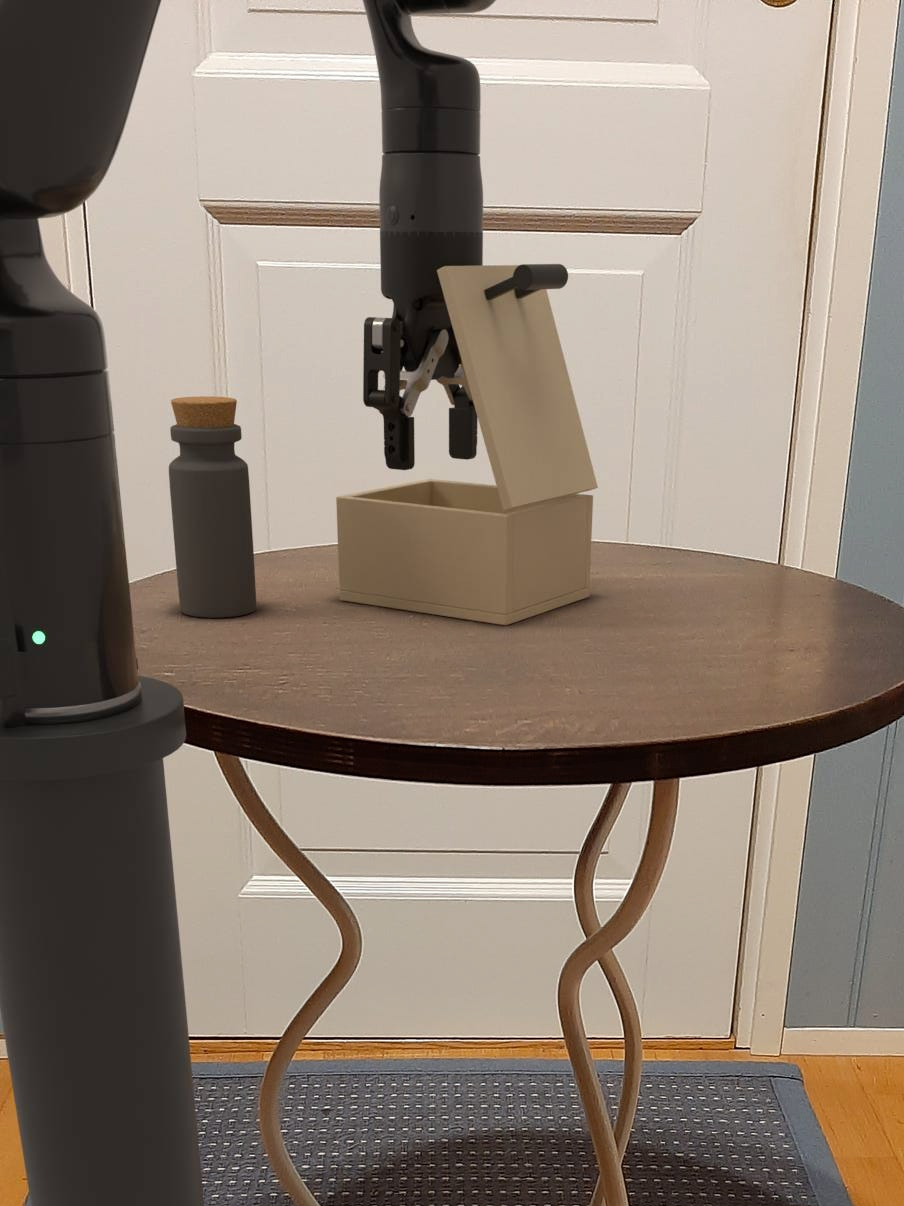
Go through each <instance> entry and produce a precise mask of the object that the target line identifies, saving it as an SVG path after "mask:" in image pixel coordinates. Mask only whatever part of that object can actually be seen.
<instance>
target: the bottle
mask: <svg viewBox="0 0 904 1206" xmlns="http://www.w3.org/2000/svg"><path fill="white" fill-rule="evenodd" d="M237 402H238V401H237V399H236V398H233V397H227V396H183V397H176V398H172V399H171V400H170V403H171V407H172V411H173V414H174V418H175V422H176V424H173V425H172V426H170V439H171V441H172V442H175V443H178V445H179V455H178V456H177V457H175V458H173V460H172V461H171V462H170V463H169V464H168V481H169V495H170V507H171V518H172V519H171V520H172V531H173V543H174V555H175V567H176V569H175V570H176V578H177V589H178V601H179V609H180V612H181V613H182V614H185V615H186V616H191V617H197V618H207V619H217V618H218V619H219V618H221V619H222V618H234V617H241V616H245V615H249V614H251V613H253V612H255V611H256V609H257V592H256V591H257V589H256V573H255V572H256V571H255V569H256V568H255V553H254V536H253V520H252V519H253V518H252V501H251V488H250V486H251V485H250V475H249V473H250V472H249V464H248V463H247V462H246V460H244V459H243V458H242V457H240V456H238V455H236V451H235V450H236V449H235V443H237V442H239V441H241V440H242V438H243V437H242V436H243V435H242V427H241V425H238V424H236V423H235V419H236V412H237V411H236V410H237Z"/></svg>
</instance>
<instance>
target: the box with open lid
mask: <svg viewBox="0 0 904 1206" xmlns="http://www.w3.org/2000/svg"><path fill="white" fill-rule="evenodd" d="M335 500H336V529H337V531H336V532H337V533H336V534H337V552H338V553H337V556H338V557H337V558H338V559H337V560H338V561H337V563H338V585H339V586H338V587H339V601H342V602H348V603H349V602H350V603H355V604H362V605H369V606H376V607H383V608H387V609H395V610H402V611H408V612H415V613H422V614H426V615H427V614H428V615H435V616H441V617H446V618H447V617H448V618H453V619H461V620H466V621H474V622H480V623H486V624H493V625H499V626H505V627H506V626H508V625H511V624H515V623H517V622H520V621H522V620H525V619H529V618H532V617H535V616H537V615H540V614H543V613H546V612H549V611H552V610H555V609H558V608H561V607H564V606H567V605H569V604H573V603H575V602H579V601H581V600H584V599H587V598H589V597H590V585H591V583H590V581H591V560H592V559H591V558H592V557H591V556H592V535H593V534H592V533H593V512H594V495H593V494H585V493H577V494H573V495H569V496H564V497H560V498H556V499H552V500H548V501H543V502H539V503H535V504H531V505H527V506H522V507H518V508H514V509H510V510H505V511H504V510H503V507H502V503H501V500H500V496H499V493H498V489H497V485H496V484H495V485H494V484H485V483H476V482H465V481H456V480H455V481H454V480H447V479H435V478H426V479H422V480H417V481H412V482H411V481H410V482H407V483H401V484H396V485H390V486H386V487H381V488H376V489H371V490H365V491H361V492H355V493H351V494H344V495H340V496H335Z"/></svg>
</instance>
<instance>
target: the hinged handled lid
mask: <svg viewBox="0 0 904 1206" xmlns="http://www.w3.org/2000/svg"><path fill="white" fill-rule="evenodd" d="M437 273H438V276H439V280H440V284H441V287H442V291H443V294H444V298H445V302H446V305H447V309H448V312H449V316H450V320H451V323H452V327H453V330H454V334H455V338H456V341H457V345H458V348H459V352H460V356H461V359H462V363H463V366H464V370H465V374H466V377H467V381H468V384H469V388H470V392H471V395H472V399H473V403H474V406H475V410H476V413H477V422H478V425H479V428H480V432H481V434H482V438H483V442H484V446H485V450H486V453H487V456H488V460H489V463H490V468H491V471H492V474H493V478H494V481H495V485H496V486H497V489H498V493H499V496H500V500H501V503H502V507H503V510H504V511H505V510H510V509H514V508H518V507H522V506H527V505H531V504H535V503H539V502H543V501H548V500H552V499H556V498H560V497H564V496H569V495H573V494H582V493H585V492H589V491H592V490H596V489H598V482H597V479H596V475H595V471H594V468H593V463H592V459H591V455H590V451H589V449H588V444H587V440H586V437H585V432H584V429H583V425H582V422H581V416H580V414H579V413H580V412H579V409H578V405H577V402H576V398H575V394H574V391H573V386H572V383H571V379H570V375H569V371H568V367H567V364H566V360H565V355H564V352H563V348H562V345H561V340H560V337H559V333H558V328H557V325H556V322H555V318H554V314H553V309H552V305H551V301H550V298H549V295H548V290H560V289H562V288H564V287H565V286H566V285H567V283H568V280H569V274H568V273H569V272H568V270H567V268H566V266H564V265H563V264H561V263H535V264H534V263H530V264H529V263H528V264H527V263H525V264H524V263H521V264H511V265H510V264H508V265H507V264H505V265H504V264H501V265H499V264H497V265H483V266H444V267H442V268H440V269H438V270H437Z"/></svg>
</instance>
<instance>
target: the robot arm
mask: <svg viewBox="0 0 904 1206" xmlns="http://www.w3.org/2000/svg"><path fill="white" fill-rule="evenodd" d="M162 1H163V0H0V726H1V727H3V728H13V727H18V726H25V725H54V724H67V723H77V722H84V721H91V720H96V719H101V718H106V717H109V716H113V715H116V714H119V713H122V712H125V711H127V710H129V709H131V708H133V707H135V706H136V705H137V704H139V703H140V701H141V699H142V693H141V683H140V679H139V678H138V675H139V672H138V670H139V665H138V658H137V651H136V643H135V642H136V641H135V640H136V639H135V632H134V621H133V620H134V619H133V610H132V601H131V590H130V589H131V588H130V580H129V579H130V578H129V569H128V560H127V559H128V558H127V549H126V540H125V530H124V519H123V518H124V517H123V507H122V498H121V497H122V496H121V489H120V488H121V487H120V477H119V476H120V475H119V467H118V458H117V457H118V456H117V446H116V436H115V433H114V432H115V425H114V414H113V404H112V393H111V383H110V374H109V371H108V369H107V368H109V365H108V354H107V346H106V345H107V344H106V336H105V335H106V334H105V329H104V325H103V322H102V319H101V317H100V315H99V314H98V312H97V311H96V309H95V308H93V307H92V306H91V305H90V304H89V303H86V301H83V299H81V298H79V297H78V296H77V295H76V294H74V293H73V292H72V291H71V290H70V289H68V287H67V286H65V285H64V284H63V283H62V281H61V280H60V279H59V278H58V276H57V275H56V272H55V271H54V269H53V268H52V267H51V265H50V263H49V261H48V258H47V256H46V252H45V248H44V242H43V238H42V232H41V227H40V221H39V219H41V220H42V219H51V218H55V217H59V216H62V215H65V214H67V213H70V212H72V211H74V210H75V209H77V208H79V207H80V206H82V205H83V204H84V203H85V202H86V201H88V199H89V198H90V197H92V196H93V194H94V193H95V192H97V190H98V188H99V187H100V185H101V184H102V182H103V181H104V179H105V177H106V176H107V174H108V172H109V170H110V167H111V164H112V163H113V161H114V158H115V156H116V153H117V151H118V149H119V146H120V143H121V140H122V138H123V134H124V131H125V128H126V124H127V121H128V118H129V115H130V111H131V107H132V104H133V101H134V97H135V93H136V91H137V87H138V83H139V79H140V76H141V72H142V69H143V65H144V62H145V58H146V54H147V52H148V47H149V44H150V41H151V39H152V38H151V37H152V34H153V30H154V27H155V23H156V21H157V17H158V14H159V11H160V7H161V3H162ZM496 2H497V0H362V4H363V7H364V10H365V15H366V19H367V23H368V28H369V31H370V34H371V40H372V45H373V50H374V55H375V61H376V68H377V75H378V80H379V86H380V107H381V109H380V110H381V112H380V113H381V114H380V115H381V153H382V155H381V168H380V169H381V171H380V179H379V192H378V193H379V194H378V195H379V198H378V201H379V202H378V203H379V204H378V205H379V246H380V247H379V253H380V254H379V255H380V260H379V261H380V293H381V295H382V296H383V297H384V298H385V299H387V300H391V302H392V303H393V309H392V316H391V317H378V316H377V317H376V316H375V317H373V316H369V317H366V318H365V319H364V322H363V368H362V369H363V372H362V374H363V376H362V378H363V379H362V387H363V388H362V400H363V401H362V402H363V405H365V407H367V408H374V409H375V410H377V411H378V412H379V414H381V415H382V418H383V419H382V420H383V440H384V441H383V446H384V447H383V454H384V459H385V465H386V467H387V468H388V469H389V470H397V471H409V470H413V468H415V464H416V462H415V460H416V459H415V458H416V457H415V456H416V455H415V454H416V453H415V416H412V415H413V414H414V411H415V408H416V405H417V403H418V400H419V398H420V395H421V393H423V392H425V391H426V390H427V389H428V388H429V386H430V384H431V381H433V380H434V381H436V382H437V383H438V384H440V385H442V387H443V389H444V391H445V394H446V395H447V398H448V400H449V403H450V405H452V406H453V407H448V454H449V456H450V457H451V458H452V459H456V460H467V461H468V460H473V459H475V458H476V456H477V454H478V453H477V450H478V449H477V448H478V447H477V446H478V417H477V413H476V410H475V406H474V403H473V399H472V395H471V392H470V388H469V384H468V381H467V377H466V374H465V370H464V366H463V363H462V359H461V356H460V352H459V348H458V345H457V341H456V338H455V334H454V330H453V327H452V323H451V320H450V316H449V312H448V309H447V305H446V302H445V298H444V294H443V291H442V287H441V284H440V280H439V276H438V273H437V270H438V269H440V268H442V267H444V266H484V265H483V264H484V257H483V256H484V187H483V186H484V185H483V178H482V169H481V168H482V167H481V156H480V154H481V121H482V120H481V116H482V115H481V110H482V109H481V106H482V105H481V101H482V100H481V98H482V97H481V96H482V94H481V93H482V92H481V91H482V90H481V88H482V87H481V77H480V73H479V70H478V68H477V67H476V65H475V64H474V63H473V62H471V60H468V59H466V58H464V57H461V56H457V55H454V54H450V53H446V52H442V51H436V50H432V49H429V48H427V47H425V46H423V45H422V44H421V42H420V41H419V40H418V38H417V36H416V33H415V31H414V27H413V23H412V15H449V14H451V15H452V14H456V15H457V14H475V13H478V12H483V11H485V10H487V9H489V8H491V7H492V5H494V3H496ZM403 369H404V370H403ZM380 372H383V375H382V377H383V379H384V386H383V389H379V374H380ZM460 386H461V387H460ZM402 390H404V391H403V394H402V396H401V395H400V394H401V391H402Z"/></svg>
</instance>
